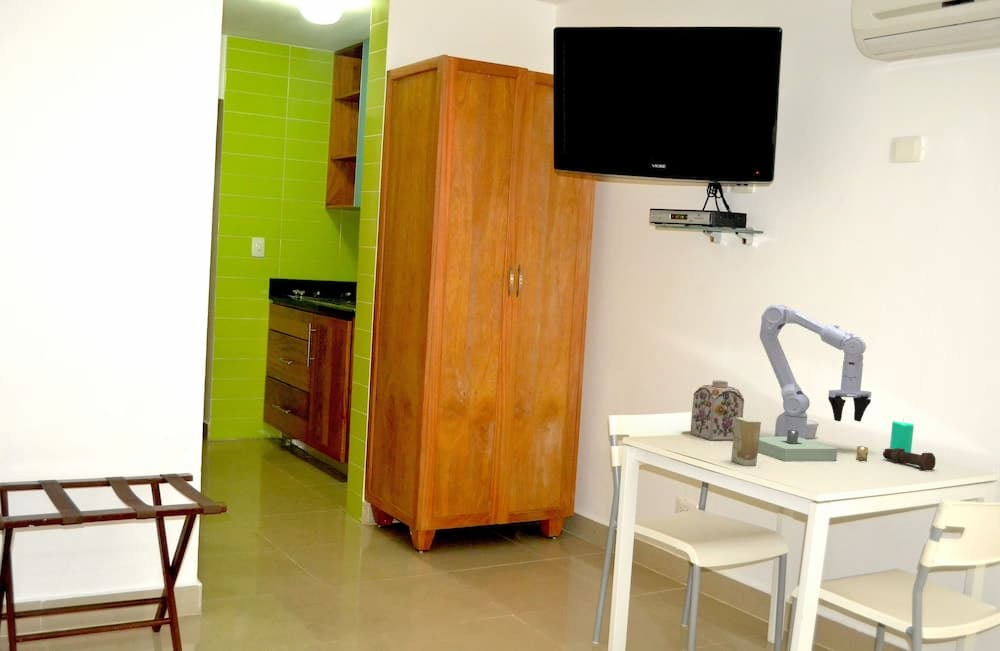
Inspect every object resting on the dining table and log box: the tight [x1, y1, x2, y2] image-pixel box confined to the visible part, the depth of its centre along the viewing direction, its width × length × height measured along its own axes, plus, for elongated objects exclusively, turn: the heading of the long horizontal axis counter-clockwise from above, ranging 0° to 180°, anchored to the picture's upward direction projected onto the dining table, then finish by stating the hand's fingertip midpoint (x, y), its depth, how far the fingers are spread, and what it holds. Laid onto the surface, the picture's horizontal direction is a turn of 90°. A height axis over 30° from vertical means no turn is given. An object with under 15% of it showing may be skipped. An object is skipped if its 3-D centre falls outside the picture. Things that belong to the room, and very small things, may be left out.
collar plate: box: [758, 436, 838, 462], centre depth 281 cm, size 18×18×4 cm
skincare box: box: [730, 417, 762, 466], centre depth 262 cm, size 6×4×12 cm
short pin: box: [855, 445, 869, 462], centre depth 279 cm, size 3×3×4 cm
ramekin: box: [805, 419, 820, 440], centre depth 316 cm, size 11×11×5 cm
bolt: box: [882, 448, 936, 471], centre depth 277 cm, size 6×5×15 cm
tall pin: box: [787, 430, 798, 444], centre depth 281 cm, size 3×3×7 cm
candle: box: [889, 418, 915, 453], centre depth 289 cm, size 6×6×12 cm
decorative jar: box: [690, 379, 745, 441], centre depth 302 cm, size 12×12×18 cm
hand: (847, 420), depth 292 cm, fingers open, 7 cm apart
